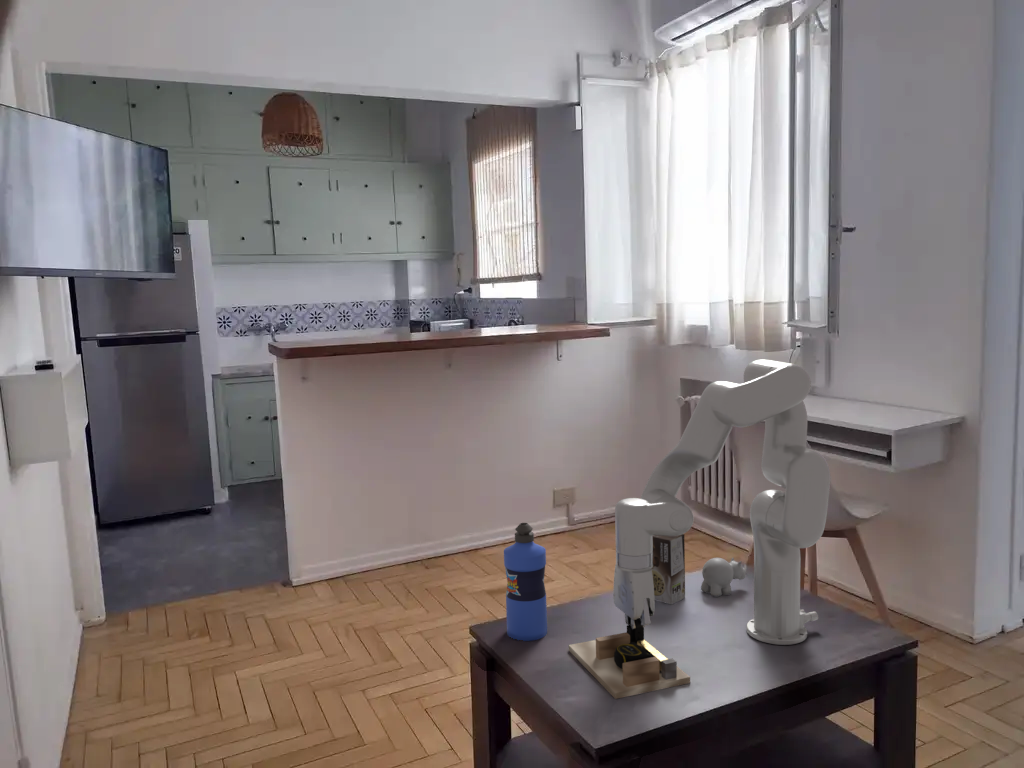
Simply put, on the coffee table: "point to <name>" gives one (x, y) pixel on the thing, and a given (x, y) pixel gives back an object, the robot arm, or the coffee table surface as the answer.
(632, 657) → the tape measure
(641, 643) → the yellow bar
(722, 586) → the white animal figurine
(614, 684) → the dock
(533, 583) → the water bottle
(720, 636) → the coffee table surface
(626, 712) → the coffee table surface
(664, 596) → the coffee box
